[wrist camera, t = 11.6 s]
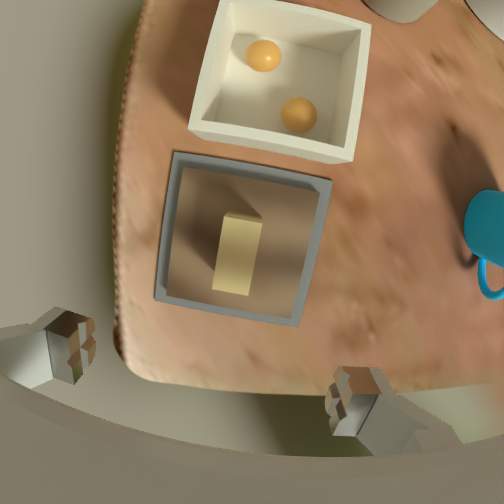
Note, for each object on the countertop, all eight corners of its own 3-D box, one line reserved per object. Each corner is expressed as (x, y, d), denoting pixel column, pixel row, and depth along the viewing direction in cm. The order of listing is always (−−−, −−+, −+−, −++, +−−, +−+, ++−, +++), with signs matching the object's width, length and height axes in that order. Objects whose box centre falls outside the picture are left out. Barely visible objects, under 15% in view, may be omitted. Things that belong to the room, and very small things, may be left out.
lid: (185, 167, 28) (171, 165, 23) (318, 192, 28) (330, 195, 23) (168, 291, 31) (154, 312, 26) (289, 314, 31) (294, 338, 26)
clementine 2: (282, 98, 26) (285, 89, 23) (316, 106, 26) (323, 98, 23) (276, 131, 27) (278, 125, 24) (310, 138, 27) (317, 133, 24)
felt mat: (175, 151, 28) (174, 151, 28) (332, 181, 28) (333, 181, 28) (155, 299, 31) (154, 300, 31) (297, 326, 32) (298, 327, 32)
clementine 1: (249, 45, 25) (248, 31, 22) (282, 50, 25) (285, 37, 22) (242, 73, 25) (241, 62, 22) (277, 79, 26) (279, 68, 22)
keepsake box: (228, 29, 25) (221, -6, 18) (348, 53, 25) (371, 24, 18) (203, 139, 28) (187, 129, 21) (330, 164, 28) (352, 161, 21)
